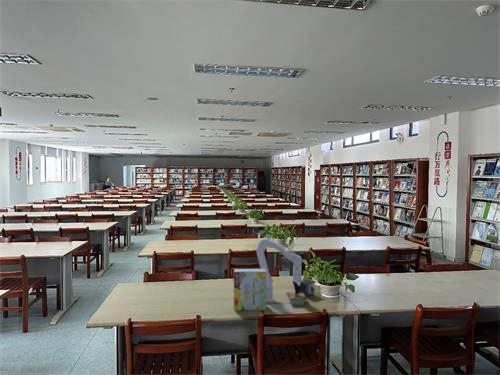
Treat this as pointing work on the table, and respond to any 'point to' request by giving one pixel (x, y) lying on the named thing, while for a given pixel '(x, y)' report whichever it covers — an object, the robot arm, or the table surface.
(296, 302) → the bowl
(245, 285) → the snack box
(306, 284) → the small box
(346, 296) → the table surface
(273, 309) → the mat
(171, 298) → the table surface
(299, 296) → the cover
